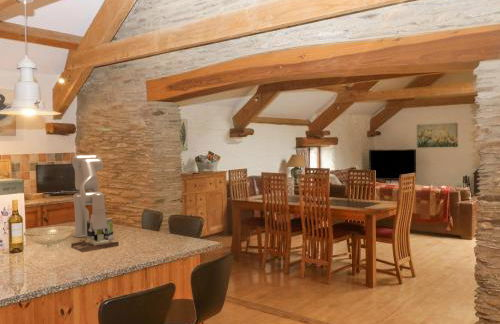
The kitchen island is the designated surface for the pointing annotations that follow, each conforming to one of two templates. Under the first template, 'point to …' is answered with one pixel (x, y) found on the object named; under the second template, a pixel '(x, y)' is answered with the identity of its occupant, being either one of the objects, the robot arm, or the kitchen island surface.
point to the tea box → (107, 234)
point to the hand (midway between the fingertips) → (99, 239)
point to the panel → (99, 240)
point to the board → (87, 246)
